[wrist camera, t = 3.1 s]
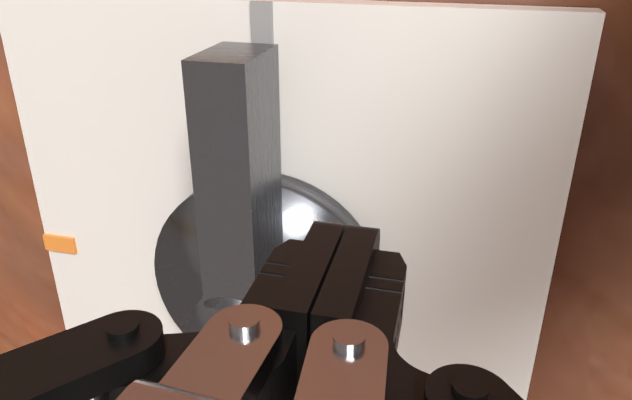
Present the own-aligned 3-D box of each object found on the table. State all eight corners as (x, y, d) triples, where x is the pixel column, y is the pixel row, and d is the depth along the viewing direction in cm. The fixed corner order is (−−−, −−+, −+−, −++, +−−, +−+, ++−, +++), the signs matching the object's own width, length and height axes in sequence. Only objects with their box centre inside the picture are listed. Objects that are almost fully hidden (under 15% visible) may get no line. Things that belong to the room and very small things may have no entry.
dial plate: (599, 7, 24) (606, 13, 23) (503, 485, 36) (504, 510, 34) (12, -12, 30) (-12, -8, 29) (97, 401, 42) (83, 419, 41)
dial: (375, 380, 33) (357, 459, 28) (178, 345, 35) (130, 412, 31) (395, 43, 25) (375, 72, 20) (140, 30, 28) (68, 53, 23)
